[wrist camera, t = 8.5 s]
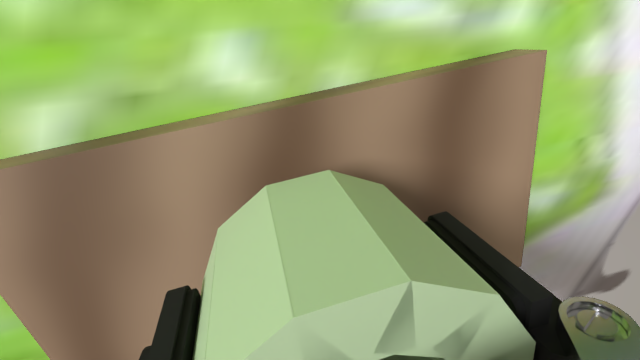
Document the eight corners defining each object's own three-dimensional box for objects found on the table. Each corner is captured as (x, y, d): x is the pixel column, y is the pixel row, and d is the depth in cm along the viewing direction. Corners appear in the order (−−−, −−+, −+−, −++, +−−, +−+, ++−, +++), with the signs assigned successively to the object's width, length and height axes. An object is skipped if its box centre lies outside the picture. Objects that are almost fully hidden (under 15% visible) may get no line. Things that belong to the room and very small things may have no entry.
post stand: (515, 49, 13) (738, 54, 7) (498, 248, 17) (632, 353, 11) (-41, 168, 10) (-410, 335, 4) (101, 373, 14) (10, 599, 9)
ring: (409, 149, 10) (552, 235, 5) (418, 315, 13) (517, 462, 8) (173, 208, 9) (108, 375, 4) (241, 374, 12) (244, 578, 7)
